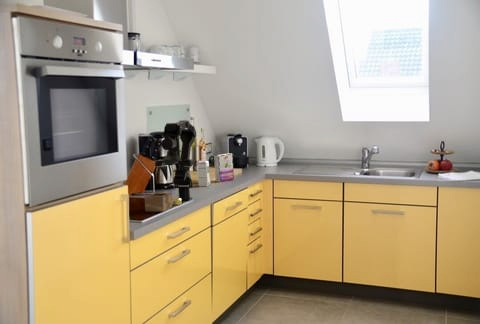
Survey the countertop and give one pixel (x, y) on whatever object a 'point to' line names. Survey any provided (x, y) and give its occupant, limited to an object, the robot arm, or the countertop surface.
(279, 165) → the countertop surface
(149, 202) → the money box
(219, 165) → the candy bar box
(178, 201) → the token
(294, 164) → the countertop surface
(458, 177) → the countertop surface
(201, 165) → the syrup box
